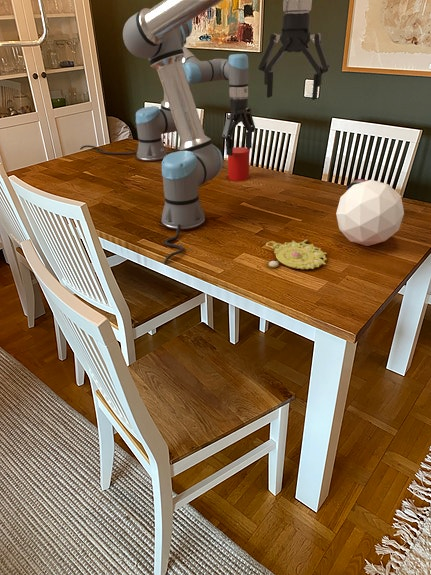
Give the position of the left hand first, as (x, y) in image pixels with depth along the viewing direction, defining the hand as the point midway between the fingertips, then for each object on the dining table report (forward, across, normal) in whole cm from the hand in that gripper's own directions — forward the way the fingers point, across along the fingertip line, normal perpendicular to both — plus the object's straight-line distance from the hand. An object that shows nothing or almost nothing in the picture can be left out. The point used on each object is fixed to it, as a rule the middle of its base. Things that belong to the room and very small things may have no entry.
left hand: (239, 151), depth 188 cm
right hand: (-28, -31, -42) cm, 60 cm away
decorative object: (+13, -48, -56) cm, 75 cm away
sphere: (+13, -27, -69) cm, 75 cm away
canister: (+12, 0, +1) cm, 12 cm away
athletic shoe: (+12, 0, -58) cm, 59 cm away
